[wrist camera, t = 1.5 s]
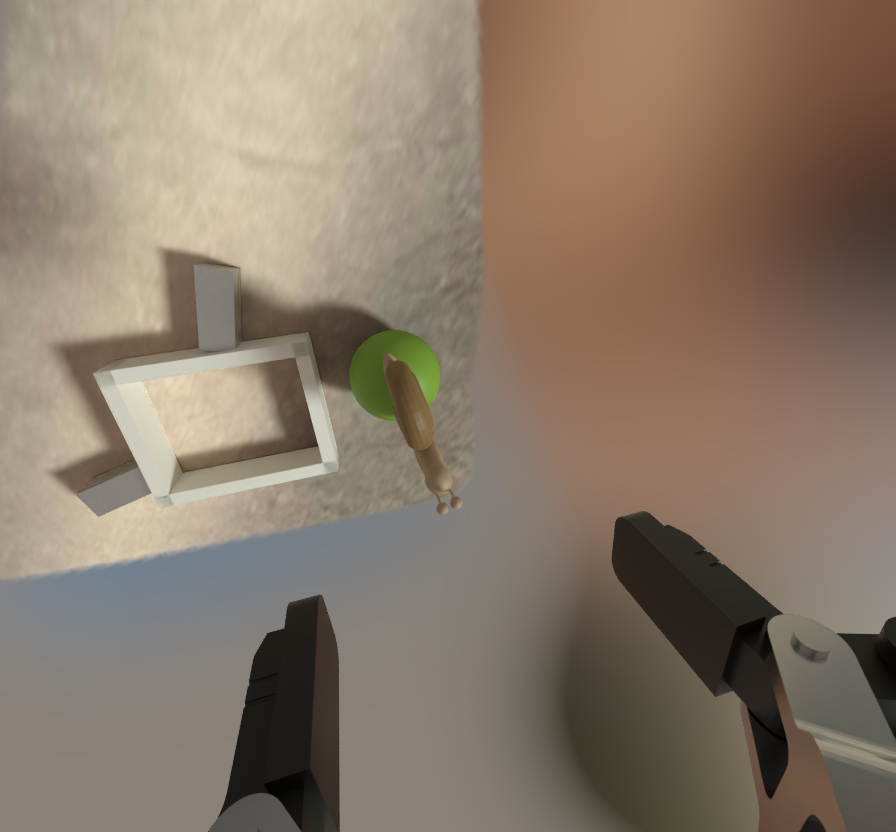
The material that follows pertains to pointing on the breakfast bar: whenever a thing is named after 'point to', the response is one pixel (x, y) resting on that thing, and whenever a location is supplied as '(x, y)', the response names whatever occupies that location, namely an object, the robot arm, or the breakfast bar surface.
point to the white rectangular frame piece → (216, 351)
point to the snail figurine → (404, 397)
